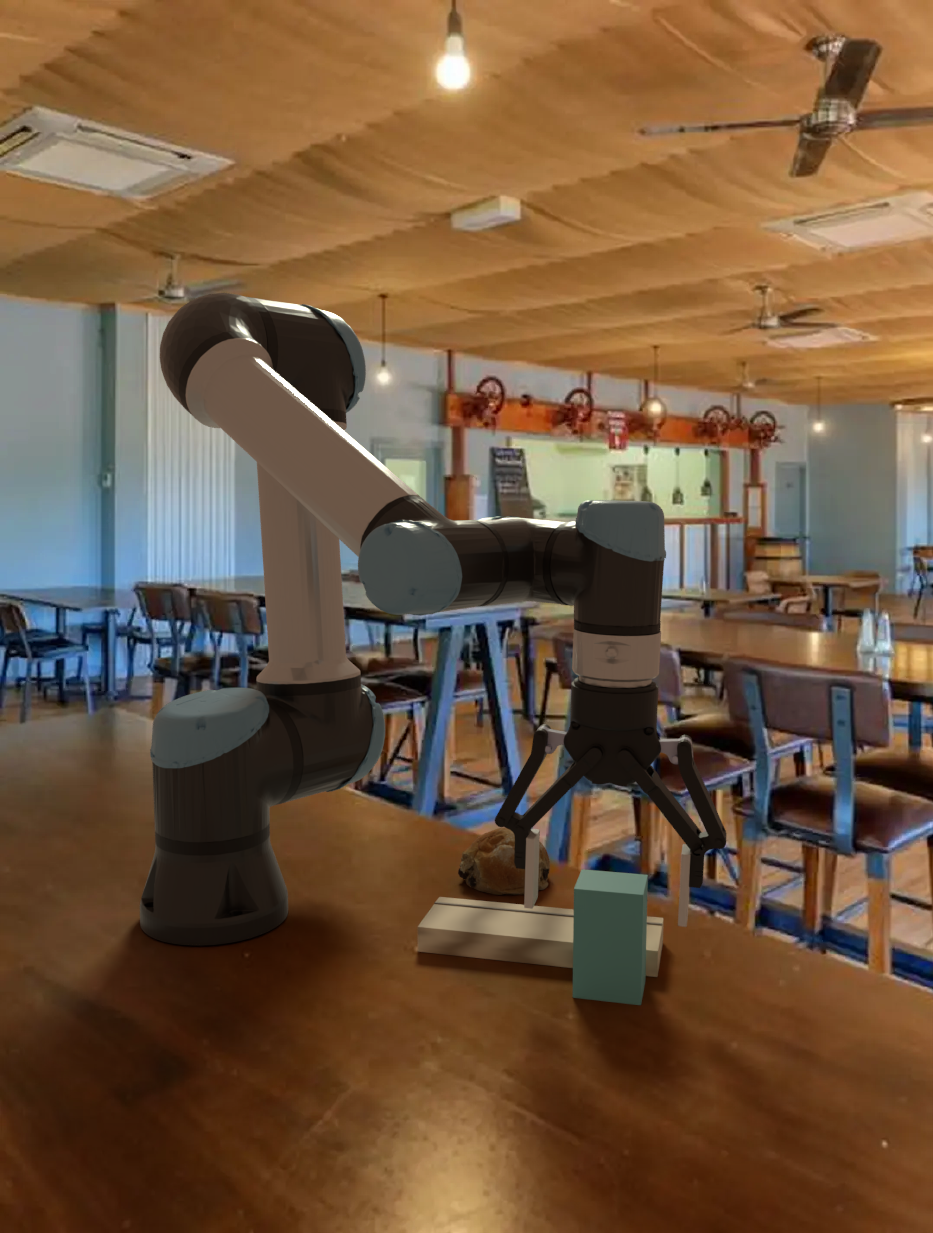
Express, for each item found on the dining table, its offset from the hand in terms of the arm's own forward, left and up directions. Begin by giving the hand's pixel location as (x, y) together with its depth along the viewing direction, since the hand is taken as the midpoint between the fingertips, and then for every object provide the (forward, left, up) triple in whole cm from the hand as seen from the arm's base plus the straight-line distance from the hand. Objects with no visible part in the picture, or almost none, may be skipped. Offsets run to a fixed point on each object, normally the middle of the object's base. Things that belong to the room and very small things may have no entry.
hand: (605, 911), depth 97 cm
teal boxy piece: (0, +4, -7) cm, 8 cm away
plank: (-7, +7, -7) cm, 12 cm away
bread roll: (-14, +24, -7) cm, 29 cm away
